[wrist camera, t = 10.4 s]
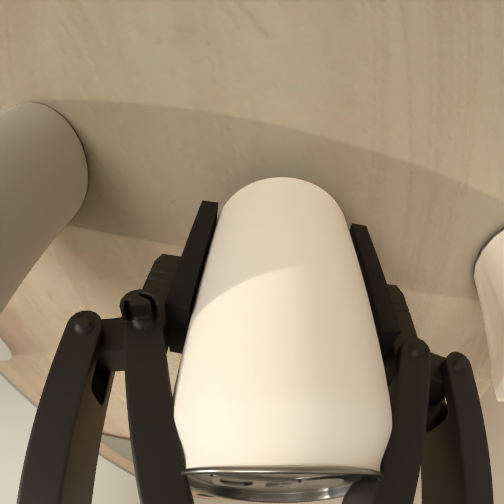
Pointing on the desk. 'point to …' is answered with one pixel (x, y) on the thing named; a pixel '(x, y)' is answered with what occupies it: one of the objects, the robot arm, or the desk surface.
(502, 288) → the cup
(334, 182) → the desk surface
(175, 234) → the desk surface
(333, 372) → the can
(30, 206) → the mug
